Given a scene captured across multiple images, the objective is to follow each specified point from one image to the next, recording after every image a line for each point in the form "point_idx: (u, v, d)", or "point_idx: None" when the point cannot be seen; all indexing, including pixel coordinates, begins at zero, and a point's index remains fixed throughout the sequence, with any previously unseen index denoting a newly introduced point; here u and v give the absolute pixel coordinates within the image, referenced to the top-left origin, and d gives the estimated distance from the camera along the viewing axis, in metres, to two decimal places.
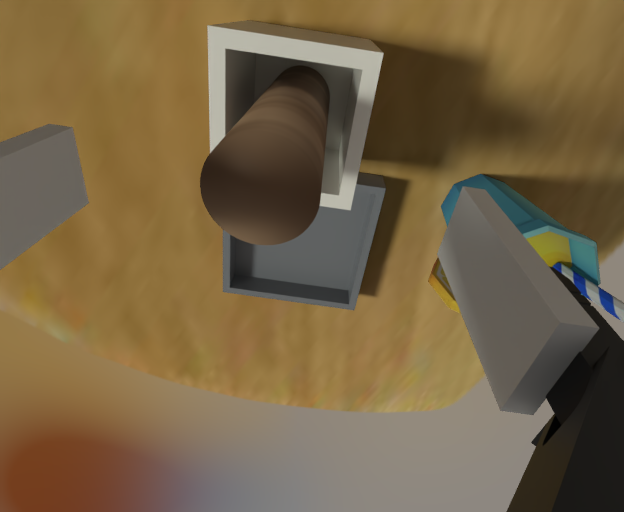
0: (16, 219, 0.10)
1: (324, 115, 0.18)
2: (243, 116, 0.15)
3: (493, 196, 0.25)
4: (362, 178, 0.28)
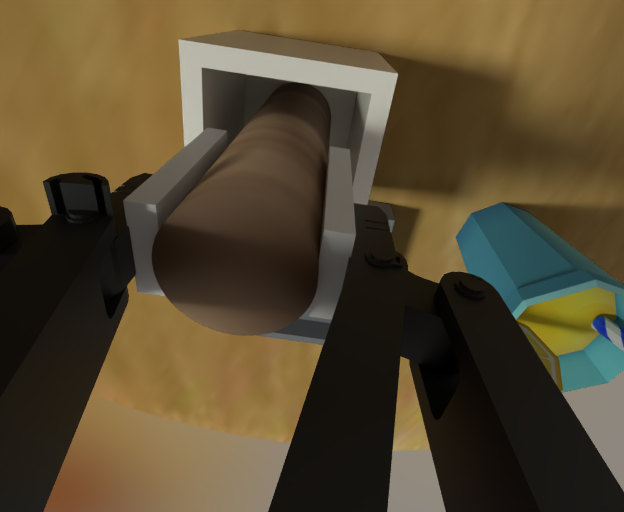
0: None
1: (324, 147, 0.15)
2: (218, 159, 0.11)
3: (520, 233, 0.22)
4: None
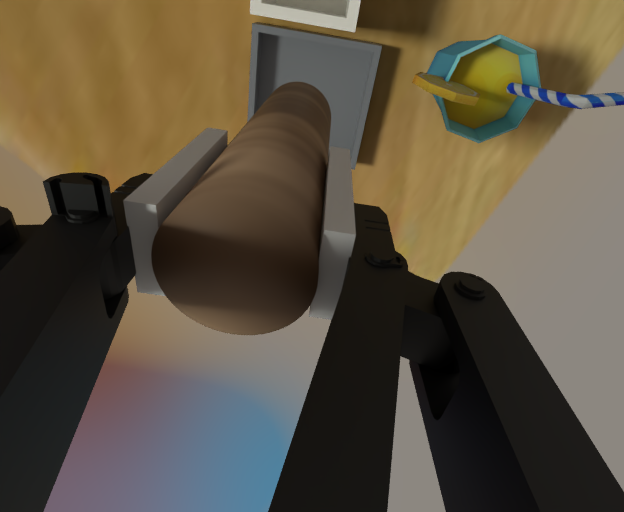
0: None
1: (324, 147, 0.15)
2: (218, 158, 0.11)
3: (465, 44, 0.32)
4: (363, 41, 0.35)
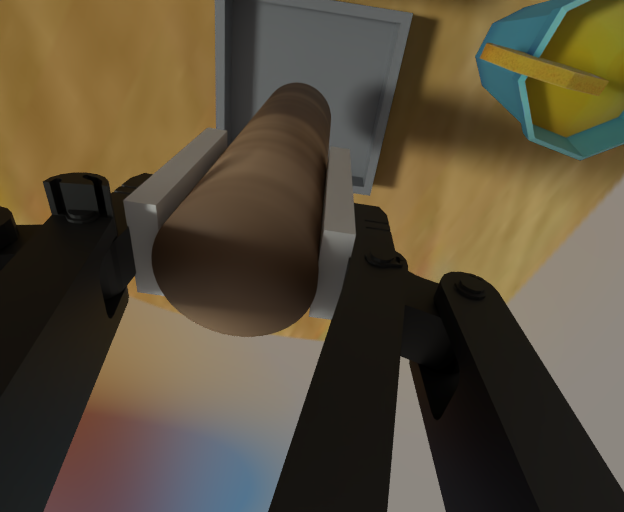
0: None
1: (324, 148, 0.15)
2: (218, 160, 0.11)
3: (549, 3, 0.20)
4: None
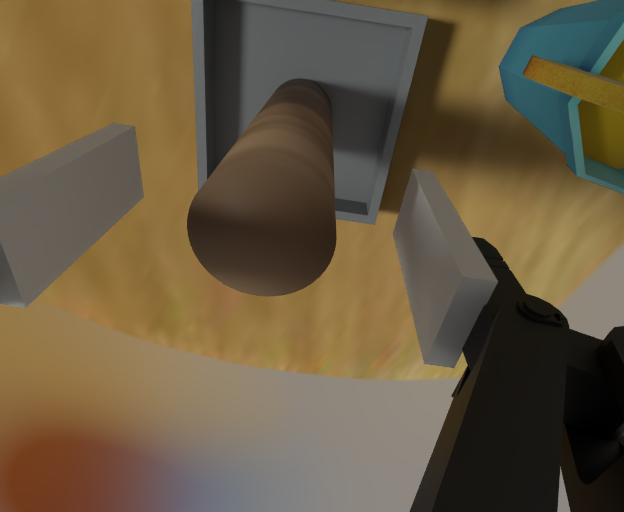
0: (93, 210, 0.11)
1: (330, 135, 0.16)
2: (239, 140, 0.12)
3: (597, 4, 0.17)
4: None
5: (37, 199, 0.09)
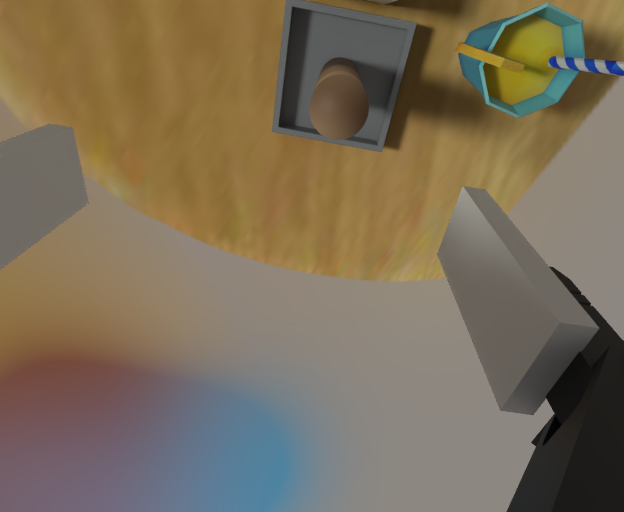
0: (16, 219, 0.10)
1: None
2: (324, 76, 0.27)
3: (503, 20, 0.32)
4: None
5: None
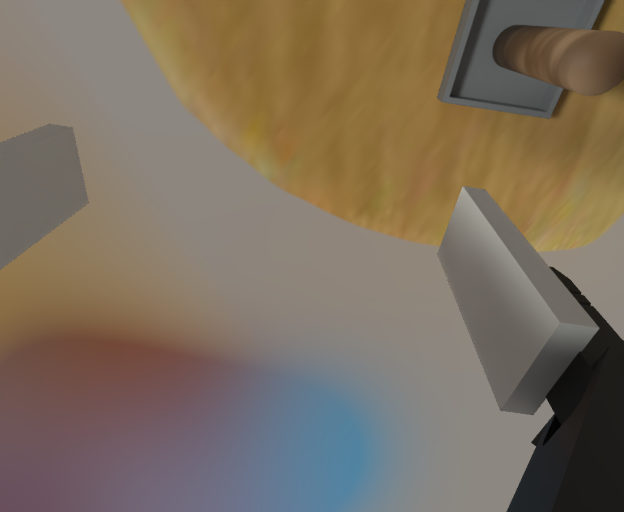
0: (16, 219, 0.10)
1: None
2: (565, 35, 0.28)
3: None
4: None
5: None
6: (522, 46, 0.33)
